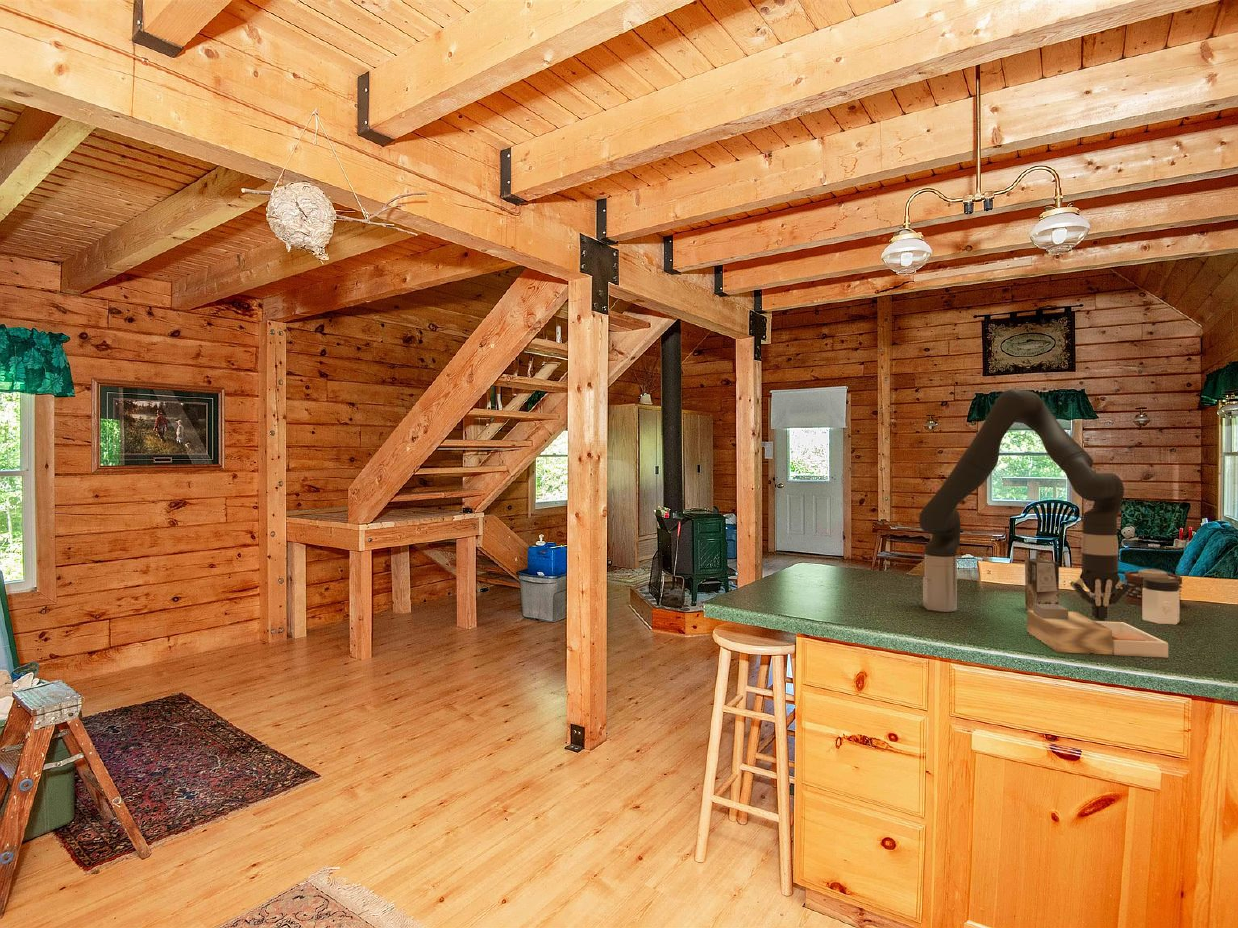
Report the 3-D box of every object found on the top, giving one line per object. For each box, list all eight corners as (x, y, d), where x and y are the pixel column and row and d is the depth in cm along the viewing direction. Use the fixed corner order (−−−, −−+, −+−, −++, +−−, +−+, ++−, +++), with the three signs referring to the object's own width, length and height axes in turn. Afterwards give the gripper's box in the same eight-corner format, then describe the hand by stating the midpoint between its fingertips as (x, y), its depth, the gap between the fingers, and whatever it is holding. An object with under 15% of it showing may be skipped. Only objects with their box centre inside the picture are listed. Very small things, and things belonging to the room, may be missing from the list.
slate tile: (1042, 618, 175) (1042, 608, 175) (1033, 612, 181) (1033, 603, 181) (1068, 619, 174) (1068, 609, 174) (1058, 613, 180) (1058, 604, 180)
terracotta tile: (1145, 639, 165) (1145, 649, 165) (1130, 633, 170) (1130, 642, 171) (1118, 638, 165) (1118, 648, 166) (1104, 632, 171) (1104, 642, 171)
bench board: (1057, 651, 165) (1057, 627, 165) (1027, 631, 184) (1027, 610, 184) (1112, 654, 163) (1112, 629, 163) (1075, 633, 181) (1075, 611, 181)
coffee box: (1059, 616, 201) (1059, 562, 200) (1036, 615, 202) (1036, 562, 202) (1047, 609, 210) (1046, 558, 209) (1024, 608, 211) (1024, 557, 211)
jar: (1148, 623, 191) (1148, 581, 191) (1136, 616, 199) (1136, 576, 199) (1186, 625, 189) (1186, 583, 188) (1172, 618, 196) (1172, 578, 196)
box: (1114, 655, 162) (1114, 640, 162) (1076, 633, 182) (1076, 620, 182) (1168, 657, 160) (1168, 643, 160) (1123, 635, 180) (1123, 622, 179)
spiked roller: (1113, 566, 224) (1164, 567, 221) (1113, 598, 224) (1164, 599, 221) (1140, 574, 209) (1194, 575, 207) (1139, 608, 209) (1194, 610, 207)
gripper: (1077, 553, 166) (1077, 622, 166) (1137, 554, 163) (1137, 624, 164) (1063, 549, 173) (1063, 615, 174) (1121, 550, 171) (1121, 617, 171)
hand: (1099, 619), depth 169 cm, fingers closed
